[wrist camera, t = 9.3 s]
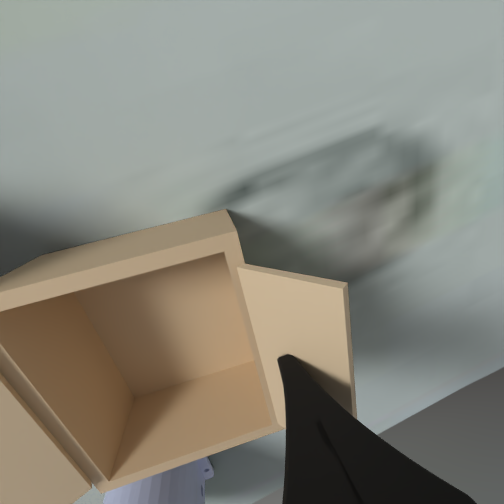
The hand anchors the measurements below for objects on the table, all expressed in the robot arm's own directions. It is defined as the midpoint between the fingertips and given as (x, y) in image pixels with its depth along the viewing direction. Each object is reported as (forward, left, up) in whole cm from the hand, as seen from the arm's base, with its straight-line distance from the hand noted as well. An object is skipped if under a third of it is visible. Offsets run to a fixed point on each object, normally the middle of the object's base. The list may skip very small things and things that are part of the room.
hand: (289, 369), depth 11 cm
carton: (0, +7, -8) cm, 11 cm away
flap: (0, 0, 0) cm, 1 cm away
